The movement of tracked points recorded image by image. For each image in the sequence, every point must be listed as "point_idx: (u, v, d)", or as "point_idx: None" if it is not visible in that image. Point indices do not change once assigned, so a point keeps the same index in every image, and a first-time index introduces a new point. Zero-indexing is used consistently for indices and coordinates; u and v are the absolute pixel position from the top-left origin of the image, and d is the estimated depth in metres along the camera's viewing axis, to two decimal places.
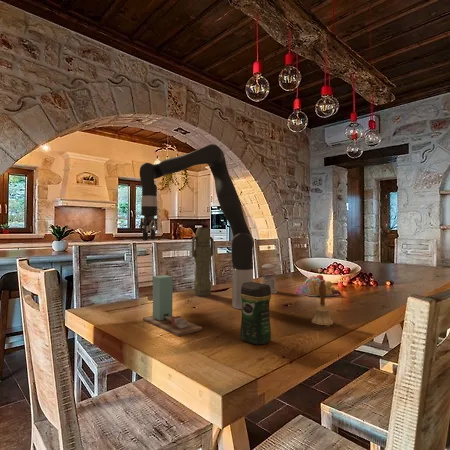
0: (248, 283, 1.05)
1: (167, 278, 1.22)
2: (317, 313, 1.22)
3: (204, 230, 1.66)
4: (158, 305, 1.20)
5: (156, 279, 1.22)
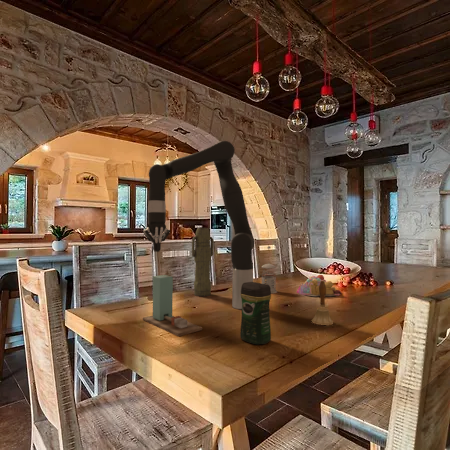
0: (248, 283, 1.05)
1: (167, 278, 1.22)
2: (317, 313, 1.22)
3: (204, 230, 1.66)
4: (158, 305, 1.20)
5: (156, 279, 1.22)
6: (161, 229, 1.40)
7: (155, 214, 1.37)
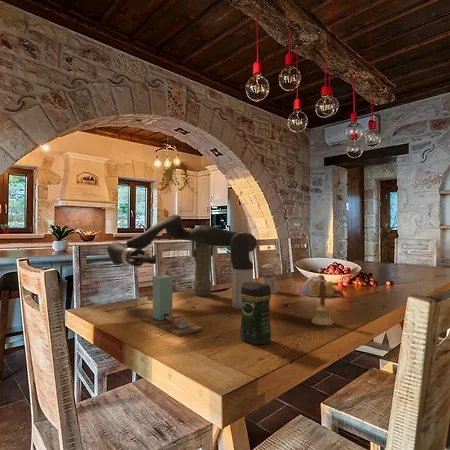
0: (248, 283, 1.05)
1: (167, 278, 1.22)
2: (317, 313, 1.22)
3: None
4: (158, 305, 1.20)
5: (156, 279, 1.22)
6: (144, 253, 1.36)
7: (129, 250, 1.38)
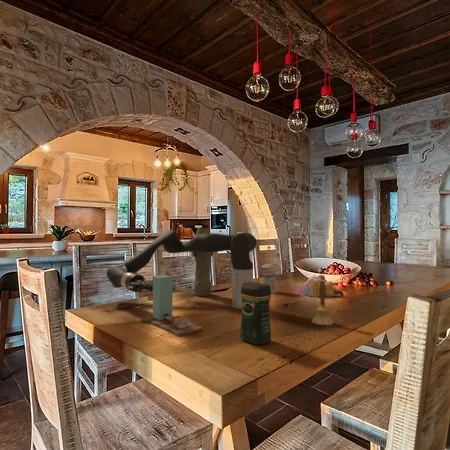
0: (248, 283, 1.05)
1: (167, 278, 1.22)
2: (317, 313, 1.22)
3: (205, 230, 1.67)
4: (158, 305, 1.20)
5: (156, 279, 1.22)
6: (144, 279, 1.36)
7: (129, 276, 1.39)
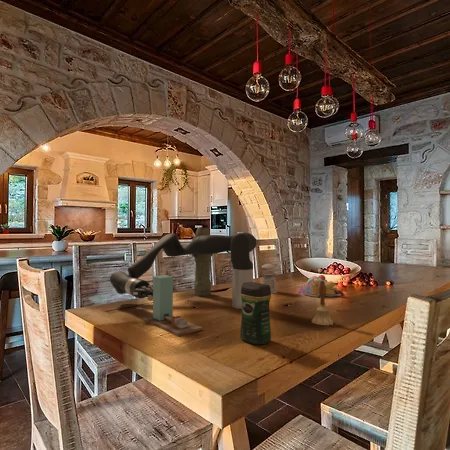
0: (248, 283, 1.05)
1: (167, 278, 1.22)
2: (317, 313, 1.22)
3: (204, 230, 1.66)
4: (159, 305, 1.20)
5: (156, 279, 1.22)
6: (148, 285, 1.33)
7: (133, 282, 1.35)
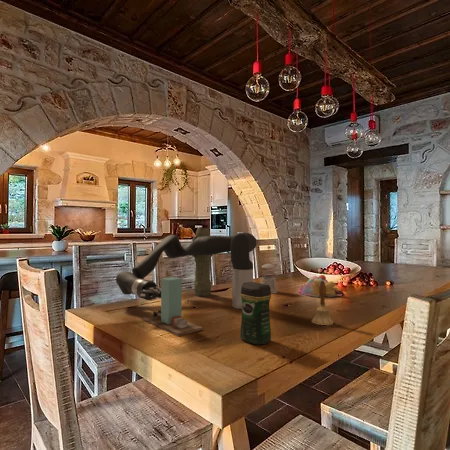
0: (248, 283, 1.05)
1: (176, 280, 1.18)
2: (317, 313, 1.22)
3: (204, 230, 1.66)
4: (167, 308, 1.16)
5: (165, 281, 1.17)
6: (156, 287, 1.29)
7: (140, 283, 1.31)
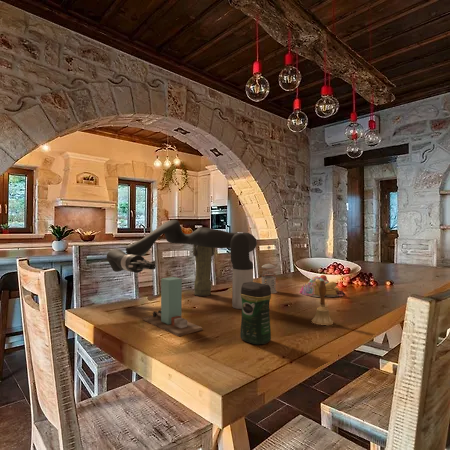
0: (248, 283, 1.05)
1: (176, 280, 1.18)
2: (317, 313, 1.22)
3: None
4: (167, 308, 1.16)
5: (165, 281, 1.17)
6: (144, 259, 1.36)
7: (129, 257, 1.38)
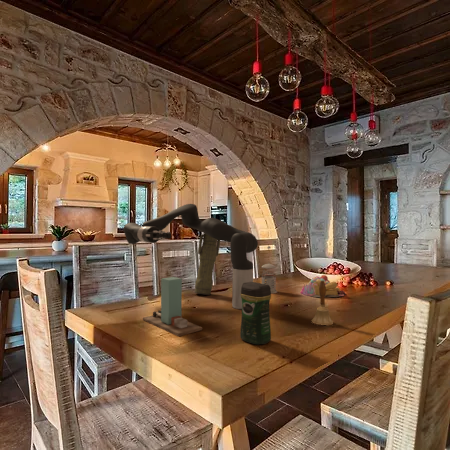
0: (248, 283, 1.05)
1: (176, 280, 1.18)
2: (317, 313, 1.22)
3: None
4: (167, 308, 1.16)
5: (165, 281, 1.17)
6: None
7: (145, 228, 1.48)
